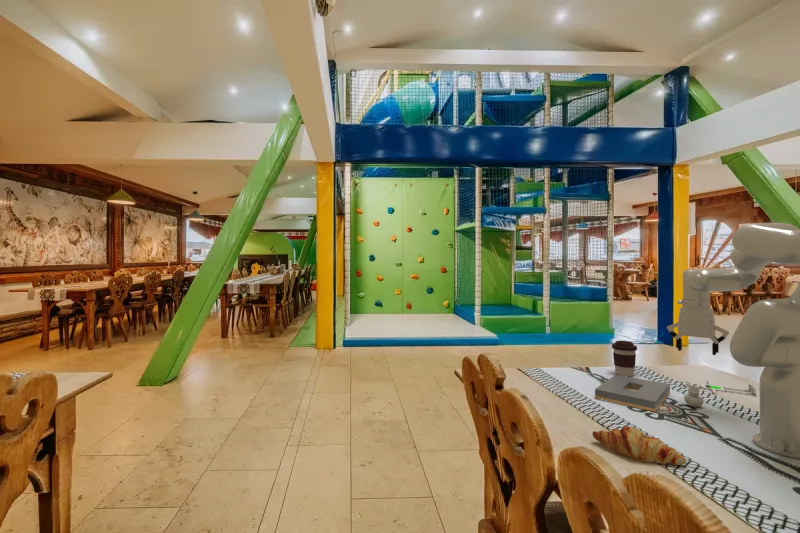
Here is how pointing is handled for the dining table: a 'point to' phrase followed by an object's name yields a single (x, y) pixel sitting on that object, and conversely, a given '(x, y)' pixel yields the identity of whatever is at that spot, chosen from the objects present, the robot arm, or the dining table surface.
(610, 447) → the croissant
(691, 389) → the rubber duck
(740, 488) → the dining table surface
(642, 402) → the block
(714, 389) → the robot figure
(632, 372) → the coffee cup
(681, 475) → the dining table surface
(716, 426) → the dining table surface
